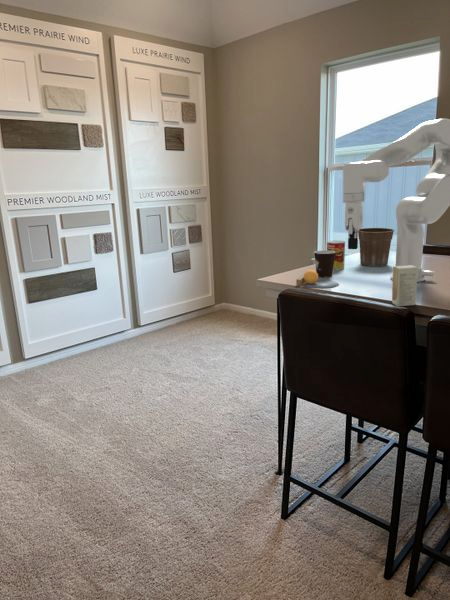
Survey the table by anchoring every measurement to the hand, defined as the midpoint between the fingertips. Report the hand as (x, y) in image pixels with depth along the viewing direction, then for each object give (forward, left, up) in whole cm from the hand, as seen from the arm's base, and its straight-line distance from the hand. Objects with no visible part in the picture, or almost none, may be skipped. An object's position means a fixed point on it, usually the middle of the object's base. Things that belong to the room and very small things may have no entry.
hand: (352, 248), depth 166 cm
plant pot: (-1, -46, -14) cm, 49 cm away
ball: (+15, +1, -11) cm, 19 cm away
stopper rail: (+19, +1, -14) cm, 24 cm away
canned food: (+14, -33, -14) cm, 39 cm away
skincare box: (-20, +21, -14) cm, 32 cm away
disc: (+11, +1, -14) cm, 18 cm away
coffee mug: (+15, -17, -14) cm, 27 cm away
